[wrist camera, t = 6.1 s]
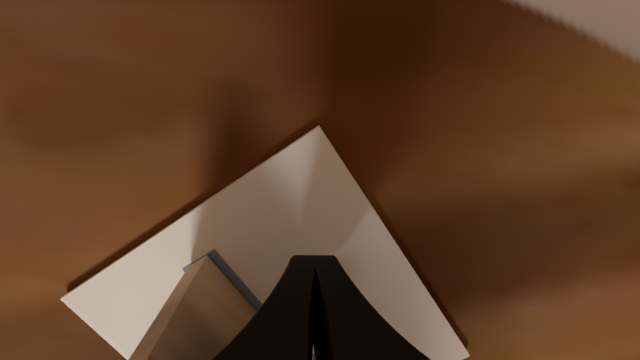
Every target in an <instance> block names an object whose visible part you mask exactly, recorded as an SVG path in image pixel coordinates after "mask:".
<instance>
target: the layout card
mask: <svg viewBox="0 0 640 360" xmlns="http://www.w3.org/2000/svg"><path fill="white" fill-rule="evenodd" d="M206 255H207V256H208V257H209V258H210V259H211V260H212V261H213V263H214V264H215V265H216V266H217V267H218V268H219V269H220V271H221V272H222V273H223V274H224V275H225V276H226V277H227V279H228V280H229V281H230V282H231V283H232V284H233V285H234V287H235V288H236V289H237V290H238V291H239V292H240V293H241V295H242V296H243V297H244V298H245V299H246V300H247V302H248V303H249V304H250V305H251V306H252V307H253V308H254V310H255V311H256V312H257V311H258V310H259V308H260V307H261V306H262V304H263V303H264V302H265V301H266V299H267V298H268V296H269V295H270V294H271V292H272V291H273V289H274V288H275V286H276V284H277V283H278V281H279V280H280V278H281V276H282V275H283V273H284V271H285V269H286V267H287V265H288V263H289V261H290V258H291V257H293V256H294V255H334V256H335V257H336V258H337V259H338V261H339V262H340V264H341V266H342V267H343V269H344V270H345V272H346V273H347V274H348V276H349V277H350V279H351V280H352V281H353V283H354V284H355V285H356V287H357V288H358V289H359V290H360V292H361V293H362V294H363V295H364V297H365V298H366V299H367V300H368V302H369V303H370V304H371V305H372V306H373V307H374V308H375V309H376V311H377V312H378V313H379V314H380V315H381V316H382V317H383V318H384V319H385V320H386V321H387V322H388V323H389V324H390V325H391V326H392V327H393V328H394V329H395V330H396V331H397V332H398V333H399V334H400V335H402V336H403V337H404V338H405V339H406V340H407V341H408V342H409V343H411V344H412V345H413V346H414V347H415V348H417V349H418V350H419V351H420V352H422V353H423V354H424V355H425V356H427V357H428V358H429V359H431V360H463V359H465V358H467V357H469V356H470V355H469V353H468V352H467V350H466V348H465V347H464V345H463V344H462V342H461V341H460V339H459V338H458V336H457V335H456V333H455V332H454V330H453V329H452V327H451V326H450V324H449V322H448V321H447V319H446V318H445V316H444V315H443V313H442V312H441V310H440V309H439V307H438V306H437V304H436V303H435V301H434V300H433V298H432V297H431V295H430V294H429V292H428V291H427V289H426V287H425V286H424V284H423V283H422V281H421V280H420V278H419V277H418V275H417V274H416V272H415V271H414V269H413V268H412V266H411V265H410V263H409V262H408V260H407V259H406V257H405V255H404V254H403V252H402V251H401V249H400V248H399V246H398V245H397V243H396V242H395V240H394V239H393V237H392V236H391V234H390V233H389V231H388V230H387V228H386V227H385V225H384V224H383V222H382V220H381V219H380V217H379V216H378V214H377V213H376V211H375V210H374V208H373V207H372V205H371V204H370V202H369V201H368V199H367V198H366V196H365V195H364V193H363V192H362V190H361V188H360V187H359V185H358V184H357V182H356V181H355V179H354V178H353V176H352V175H351V173H350V172H349V170H348V169H347V167H346V166H345V164H344V163H343V161H342V160H341V158H340V156H339V155H338V153H337V152H336V150H335V149H334V147H333V146H332V144H331V143H330V141H329V140H328V138H327V137H326V135H325V134H324V132H323V131H322V129H321V128H320V126H319V125H318V126H316V127H315V128H313V129H312V130H310V131H309V132H307V133H306V134H304V135H303V136H301V137H300V138H298V139H297V140H296V141H294V142H293V143H291V144H290V145H288V146H287V147H285V148H284V149H282V150H281V151H279V152H278V153H276V154H275V155H273V156H272V157H270V158H269V159H267V160H266V161H264V162H263V163H261V164H260V165H258V166H257V167H255V168H254V169H252V170H251V171H249V172H248V173H246V174H245V175H243V176H242V177H240V178H239V179H237V180H236V181H234V182H233V183H231V184H230V185H228V186H227V187H225V188H224V189H222V190H221V191H219V192H218V193H216V194H215V195H213V196H212V197H210V198H209V199H207V200H206V201H204V202H203V203H201V204H200V205H198V206H197V207H195V208H194V209H192V210H191V211H189V212H188V213H186V214H185V215H183V216H182V217H180V218H179V219H177V220H176V221H174V222H173V223H171V224H170V225H168V226H167V227H165V228H164V229H162V230H161V231H159V232H158V233H156V234H155V235H153V236H152V237H150V238H149V239H147V240H146V241H144V242H143V243H141V244H140V245H138V246H137V247H135V248H134V249H132V250H131V251H129V252H128V253H126V254H125V255H123V256H122V257H120V258H119V259H117V260H116V261H114V262H113V263H111V264H110V265H108V266H107V267H105V268H104V269H102V270H101V271H99V272H98V273H96V274H95V275H93V276H92V277H91V278H89V279H88V280H86V281H85V282H83V283H82V284H80V285H79V286H77V287H76V288H74V289H73V290H71V291H70V292H68V293H67V294H65V295H64V296H63V297H62V298H61V299H60V300H61V301H63V302H64V303H65V304H66V305H67V306H68V307H69V308H70V309H71V310H73V311H74V312H75V313H76V314H77V315H78V316H79V317H80V318H81V319H82V320H84V321H85V322H86V323H87V324H88V325H89V326H90V327H91V328H92V329H94V330H95V331H96V332H97V333H98V334H99V335H100V336H101V337H102V338H103V339H105V340H106V341H107V342H108V343H109V344H110V345H111V346H112V347H113V348H115V349H116V350H117V351H118V352H119V353H120V354H121V355H122V356H123V357H124V358H126V359H127V360H129V358H130V357H131V355H132V354H133V352H134V351H135V349H136V348H137V346H138V344H139V343H140V341H141V340H142V338H143V337H144V335H145V334H146V332H147V330H148V329H149V327H150V326H151V324H152V323H153V321H154V320H155V318H156V316H157V315H158V313H159V312H160V310H161V309H162V307H163V305H164V304H165V302H166V301H167V299H168V298H169V296H170V295H171V293H172V291H173V290H174V288H175V287H176V285H177V284H178V282H179V281H180V279H181V277H182V276H183V274H184V273H185V271H186V270H187V268H188V267H189V266H190V265H192V264H193V263H195V262H197V261H198V260H200V259H201V258H203V257H205V256H206ZM312 360H315V354H314V345H313V354H312Z"/></svg>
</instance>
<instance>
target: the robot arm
mask: <svg viewBox="0 0 640 360" xmlns="http://www.w3.org/2000/svg"><path fill="white" fill-rule="evenodd" d="M313 345H314V354H315V360H431V359H429V358H428V357H427V356H425V355H424V354H423V353H422V352H420V351H419V350H418V349H417V348H415V347H414V346H413V345H412V344H411V343H409V342H408V341H407V340H406V339H405V338H404V337H403V336H402V335H400V334H399V333H398V332H397V331H396V330H395V329H394V328H393V327H392V326H391V325H390V324H389V323H388V322H387V321H386V320H385V319H384V318H383V317H382V316H381V315H380V314H379V313H378V312H377V311H376V309H375V308H374V307H373V306H372V305H371V304H370V303H369V302H368V300H367V299H366V298H365V297H364V295H363V294H362V293H361V292H360V290H359V289H358V288H357V287H356V285H355V284H354V283H353V281H352V280H351V279H350V277H349V276H348V274H347V273H346V272H345V270H344V269H343V267H342V266H341V264H340V262H339V261H338V259H337V258H336V257H335V256H334V255H294V256H293V257H291V258H290V261H289V263H288V265H287V267H286V269H285V271H284V273H283V275H282V276H281V278H280V280H279V281H278V283H277V284H276V286H275V288H274V289H273V291H272V292H271V294H270V295H269V296H268V298H267V299H266V301H265V302H264V303H263V304H262V306H261V307H260V308H259V310H258V311H257V312H256V313H255V315H254V316H253V317H252V318H251V320H250V321H249V322H248V323H247V324H246V325H245V327H244V328H243V329H242V330H241V331H240V332H239V333H238V334H237V335H236V336H235V337H234V338H233V340H232V341H231V342H230V343H229V344H228V345H227V346H226V347H225V348H223V349H222V350H221V351H220V352H219V353H218V354H217V355H216V356H215V357H214V358H213V359H212V360H312V354H313Z"/></svg>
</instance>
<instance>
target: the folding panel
mask: <svg viewBox="0 0 640 360" xmlns="http://www.w3.org/2000/svg"><path fill="white" fill-rule="evenodd" d="M255 313H256V311H255V310H254V308H253V307H252V306H251V305H250V304H249V303H248V302H247V300H246V299H245V298H244V297H243V296H242V295H241V293H240V292H239V291H238V290H237V289H236V288H235V287H234V285H233V284H232V283H231V282H230V281H229V280H228V279H227V277H226V276H225V275H224V274H223V273H222V272H221V271H220V269H219V268H218V267H217V266H216V265H215V264H214V263H213V261H212V260H211V259H210V258H209V257H208V256H207V255H206V256H205V257H203V258H201V259H200V260H198V261H197V262H195V263H193V264H192V265H190V266H189V267H188V268H187V270H186V271H185V273H184V274H183V276H182V277H181V279H180V281H179V282H178V284H177V285H176V287H175V288H174V290H173V291H172V293H171V295H170V296H169V298H168V299H167V301H166V302H165V304H164V305H163V307H162V309H161V310H160V312H159V313H158V315H157V316H156V318H155V320H154V321H153V323H152V324H151V326H150V327H149V329H148V330H147V332H146V334H145V335H144V337H143V338H142V340H141V341H140V343H139V344H138V346H137V348H136V349H135V351H134V352H133V354H132V355H131V357H130V358H129V360H212V359H213V358H214V357H215V356H216V355H217V354H218V353H219V352H220V351H221V350H222V349H223V348H225V347H226V346H227V345H228V344H229V343H230V342H231V341H232V340H233V338H234V337H235V336H236V335H237V334H238V333H239V332H240V331H241V330H242V329H243V328H244V327H245V325H246V324H247V323H248V322H249V321H250V320H251V318H252V317H253V316H254V315H255Z"/></svg>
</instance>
